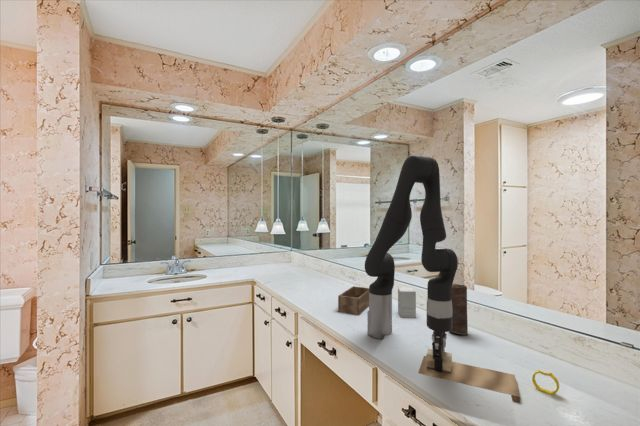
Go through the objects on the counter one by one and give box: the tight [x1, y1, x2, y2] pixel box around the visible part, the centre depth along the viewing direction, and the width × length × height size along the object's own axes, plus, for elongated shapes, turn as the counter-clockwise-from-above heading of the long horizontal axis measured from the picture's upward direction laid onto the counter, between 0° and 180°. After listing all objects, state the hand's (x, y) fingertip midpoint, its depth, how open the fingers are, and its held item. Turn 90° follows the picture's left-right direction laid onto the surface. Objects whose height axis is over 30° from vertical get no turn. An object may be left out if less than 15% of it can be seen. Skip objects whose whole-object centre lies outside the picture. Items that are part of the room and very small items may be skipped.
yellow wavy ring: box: [531, 367, 560, 395], centre depth 85 cm, size 6×3×6 cm, turn 42°
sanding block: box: [425, 348, 453, 374], centre depth 94 cm, size 7×4×4 cm, turn 62°
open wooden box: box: [337, 285, 369, 316], centre depth 158 cm, size 11×21×8 cm, turn 153°
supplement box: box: [397, 286, 417, 319], centre depth 146 cm, size 7×7×13 cm
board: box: [418, 355, 521, 403], centre depth 91 cm, size 26×12×2 cm, turn 63°
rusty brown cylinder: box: [450, 283, 469, 336], centre depth 125 cm, size 8×7×20 cm
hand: (439, 367), depth 94 cm, fingers closed on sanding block, 4 cm apart
